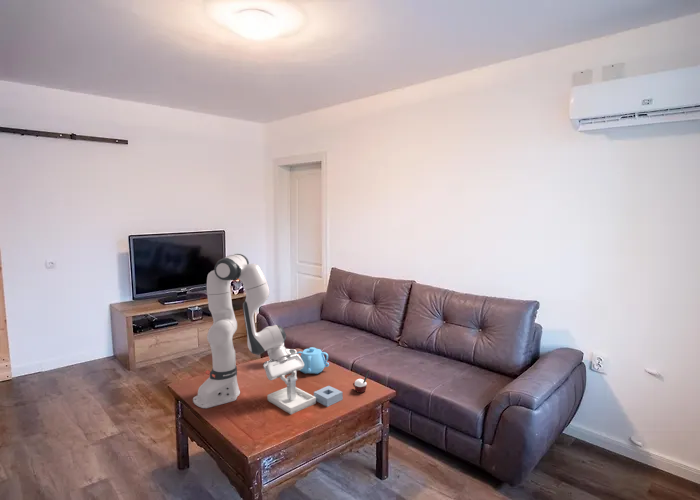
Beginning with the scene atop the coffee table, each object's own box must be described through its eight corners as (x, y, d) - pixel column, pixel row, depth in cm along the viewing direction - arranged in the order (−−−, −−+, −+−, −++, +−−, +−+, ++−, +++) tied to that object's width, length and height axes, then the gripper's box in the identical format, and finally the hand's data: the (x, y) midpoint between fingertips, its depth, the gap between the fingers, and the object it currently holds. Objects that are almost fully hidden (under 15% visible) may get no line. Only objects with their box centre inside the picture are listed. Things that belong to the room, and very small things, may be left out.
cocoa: (351, 390, 210) (350, 367, 209) (361, 386, 213) (360, 364, 212) (361, 396, 202) (360, 373, 201) (371, 392, 205) (370, 370, 204)
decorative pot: (318, 363, 245) (317, 341, 244) (331, 372, 232) (331, 349, 230) (293, 369, 237) (292, 346, 235) (305, 378, 223) (305, 354, 222)
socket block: (327, 406, 192) (327, 398, 191) (313, 399, 199) (313, 392, 198) (342, 399, 199) (342, 391, 198) (329, 393, 206) (328, 385, 205)
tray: (290, 414, 185) (290, 408, 185) (267, 400, 198) (267, 394, 198) (316, 403, 195) (316, 397, 195) (292, 390, 209) (292, 385, 208)
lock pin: (290, 400, 195) (290, 378, 193) (287, 398, 197) (286, 376, 195) (295, 398, 197) (295, 376, 195) (292, 396, 199) (291, 374, 198)
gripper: (264, 359, 192) (276, 385, 186) (298, 348, 206) (311, 372, 201) (259, 365, 196) (271, 391, 190) (293, 354, 210) (305, 378, 204)
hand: (291, 381), depth 195 cm, fingers open, 3 cm apart
